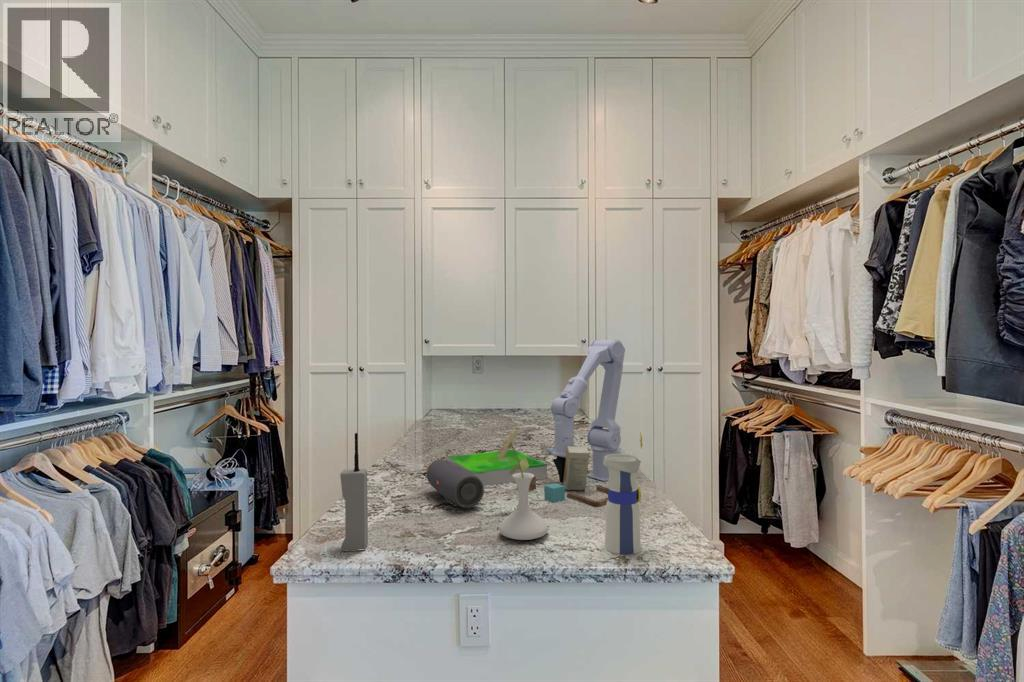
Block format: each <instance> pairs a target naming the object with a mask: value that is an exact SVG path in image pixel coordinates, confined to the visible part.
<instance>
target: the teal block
mask: <svg viewBox="0 0 1024 682" xmlns="http://www.w3.org/2000/svg"><path fill="white" fill-rule="evenodd" d="M543 486H544V493H543V495H544V500H545V499H546V500H545V501H547V500H548V502H550V501H551V502H550V503H552V502H553V504H555V503H554V502H556V503H559V502H558V501H560V502H563V500H564V501H566V490H565V486H564V484H563V485H562V484H559V483H556V482H555V483H549V484H545V485H543Z"/></svg>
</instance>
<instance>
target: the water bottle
mask: <svg viewBox="0 0 1024 682" xmlns="http://www.w3.org/2000/svg"><path fill="white" fill-rule="evenodd" d="M639 442H640V449H642V448H643V436H642V433H641V432H639ZM641 461H642V460H640V459H638V457H637V456H635V455H634V454H629V453H622V454H610V455H606V456H605V457H604V461H603V465H604V466H606V467H608V471H609V480H608V481H606V483H605V487H606V488H608V493H607V498H608V501H607V504H605V529H604V530H605V531H604V532H605V533H604V548H605V550H606V551H607V552H610V553H613V554H618V555H634V554H637V553H639V552H641V551H642V541H641V520H640V519H641V518H640V515H641V514H640V504H639V503H640V502H641V500H642V492H641V488H640V487H641V486H640V485H639V483H638V481H637V480H638V479H637V476H640V475H639V469H640V466H641V465H640V464H641V463H642V462H641Z"/></svg>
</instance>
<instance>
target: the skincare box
mask: <svg viewBox="0 0 1024 682" xmlns="http://www.w3.org/2000/svg"><path fill="white" fill-rule="evenodd" d="M589 460H590V451H589V448H588V447H587V446H584V445H583V446H580V445H579V446H577V445H574V446H567V450H566V460H565V470H564V479H563V483H562V484H563V486H565V491H566V490H567V491H586V489H587V488H586V487H587V478H588V476H587V475H588V469H589V463H590V462H589Z"/></svg>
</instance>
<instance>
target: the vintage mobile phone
mask: <svg viewBox="0 0 1024 682" xmlns="http://www.w3.org/2000/svg"><path fill="white" fill-rule="evenodd" d="M358 437H359V436H358V433H357V432H355V433H354V456H353V457H354V459H353V460H354V468H352V469H351V468H348V469H346V468H345V469H343V470H342V471H341V472H340V474H339V475H340V483H341V484H340V485H341V494H342V495H341V496H342V497H343V499H344V502H345V503H344V509H345V510H344V511H345V512H344V514H345V517H344V518H345V521H344V522H345V537H344V540H343V541H342V543H341V546H340V548H341V550H358V549H365V550H366V548H367V545H368V543H369V532H368V531H369V526H368V525H369V523H368V522H369V521H368V520H369V519H368V516H369V514H368V513H369V512H368V511H369V509H368V506H369V505H368V470H367V468H360V467H359V448H358V447H359V443H358V442H359V439H358ZM341 550H340V551H341Z"/></svg>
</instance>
